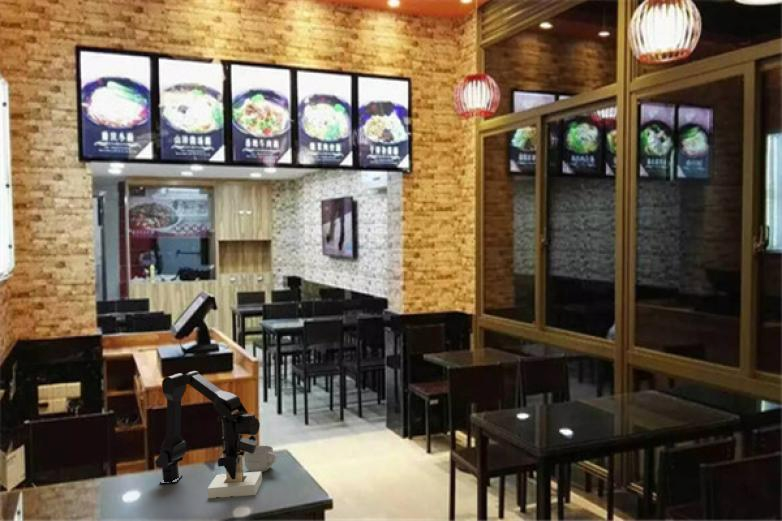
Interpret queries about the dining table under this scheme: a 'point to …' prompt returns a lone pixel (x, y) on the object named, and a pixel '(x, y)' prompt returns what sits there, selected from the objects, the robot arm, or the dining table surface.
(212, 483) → the well block
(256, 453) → the teacup
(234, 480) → the wooden bar
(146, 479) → the dining table surface
